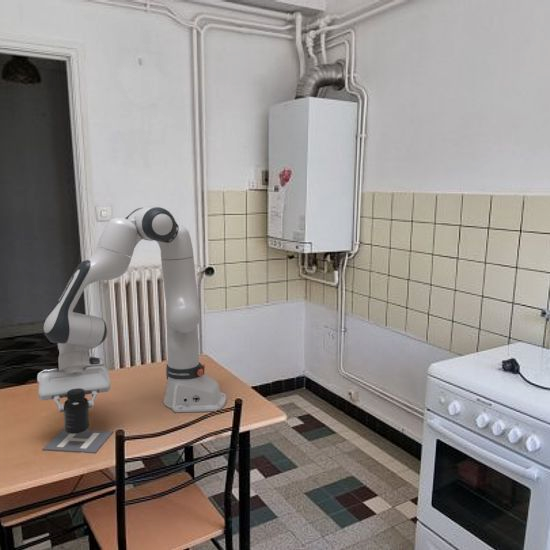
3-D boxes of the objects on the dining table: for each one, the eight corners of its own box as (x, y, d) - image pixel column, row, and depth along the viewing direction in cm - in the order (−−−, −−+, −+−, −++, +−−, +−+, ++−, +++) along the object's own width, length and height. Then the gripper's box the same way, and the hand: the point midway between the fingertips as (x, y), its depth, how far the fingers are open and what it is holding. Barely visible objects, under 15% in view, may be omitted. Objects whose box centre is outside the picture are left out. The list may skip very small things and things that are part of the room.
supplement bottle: (76, 421, 146) (76, 385, 144) (94, 426, 143) (93, 389, 142) (59, 431, 140) (58, 392, 138) (76, 436, 137) (76, 397, 135)
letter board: (112, 432, 148) (112, 431, 148) (95, 453, 136) (95, 452, 136) (63, 429, 149) (63, 428, 149) (42, 450, 137) (42, 448, 137)
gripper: (36, 366, 140) (36, 410, 133) (108, 358, 149) (112, 399, 142) (37, 375, 145) (38, 418, 138) (107, 366, 154) (111, 407, 146)
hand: (76, 408), depth 140 cm, fingers closed on supplement bottle, 7 cm apart
